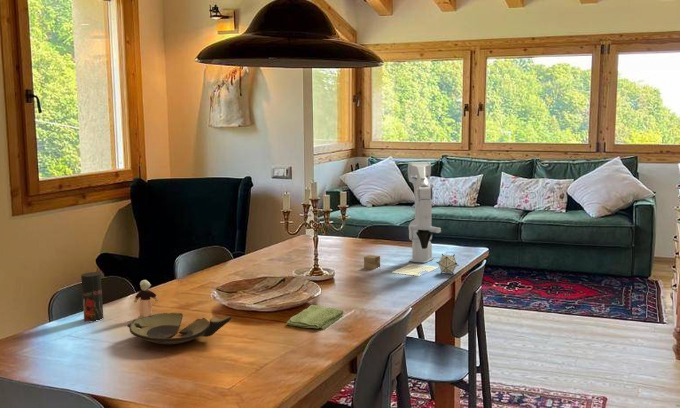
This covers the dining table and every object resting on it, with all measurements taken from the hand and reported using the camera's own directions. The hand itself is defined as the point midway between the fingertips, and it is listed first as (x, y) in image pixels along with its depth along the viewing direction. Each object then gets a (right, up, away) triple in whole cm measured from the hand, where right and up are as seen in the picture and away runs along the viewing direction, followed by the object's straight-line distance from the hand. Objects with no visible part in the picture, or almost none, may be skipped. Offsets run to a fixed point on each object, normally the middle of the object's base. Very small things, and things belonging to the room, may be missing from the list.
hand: (424, 248), depth 276 cm
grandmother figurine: (-99, -19, -58) cm, 116 cm away
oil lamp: (-83, -22, -81) cm, 118 cm away
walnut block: (-21, -9, +8) cm, 24 cm away
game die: (+9, -10, -5) cm, 14 cm away
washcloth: (-43, -20, -64) cm, 80 cm away
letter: (-4, -9, +2) cm, 10 cm away
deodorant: (-116, -20, -59) cm, 131 cm away
